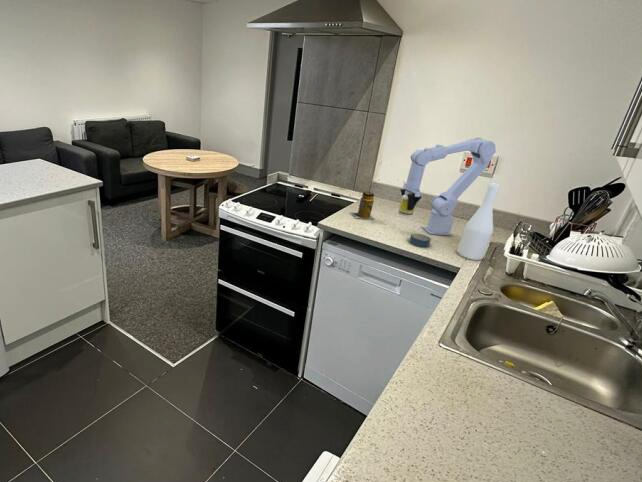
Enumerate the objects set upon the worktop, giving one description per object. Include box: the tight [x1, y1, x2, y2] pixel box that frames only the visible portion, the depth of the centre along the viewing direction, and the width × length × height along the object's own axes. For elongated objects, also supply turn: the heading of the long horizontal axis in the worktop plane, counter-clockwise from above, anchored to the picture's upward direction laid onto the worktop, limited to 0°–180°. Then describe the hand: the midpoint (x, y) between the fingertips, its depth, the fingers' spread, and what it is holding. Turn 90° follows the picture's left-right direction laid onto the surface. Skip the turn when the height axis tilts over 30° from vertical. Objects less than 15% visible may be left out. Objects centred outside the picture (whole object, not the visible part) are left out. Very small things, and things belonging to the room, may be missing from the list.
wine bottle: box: [457, 182, 501, 261], centre depth 152 cm, size 10×10×30 cm
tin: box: [408, 233, 431, 248], centre depth 165 cm, size 8×8×3 cm
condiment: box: [351, 191, 375, 220], centre depth 190 cm, size 7×8×12 cm
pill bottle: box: [397, 190, 416, 218], centre depth 175 cm, size 6×6×11 cm
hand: (406, 207), depth 176 cm, fingers closed on pill bottle, 6 cm apart
